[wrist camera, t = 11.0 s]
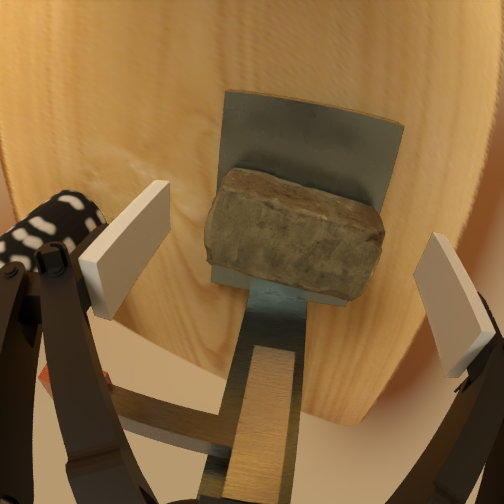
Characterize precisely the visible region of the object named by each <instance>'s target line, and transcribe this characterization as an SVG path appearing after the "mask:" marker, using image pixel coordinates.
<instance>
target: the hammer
mask: <svg viewBox="0 0 504 504" xmlns="http://www.w3.org/2000/svg"><path fill="white" fill-rule="evenodd" d="M294 361H295V352H291V351H285V350H280V349H274V348H268V347H263V346H258V345H255V346H254V351H253V356H252V361H251V365H250V370H249V375H248V380H247V385H246V389H245V394H244V399H243V404H242V408H241V413H240V418H239V419H234V418H229V417H224V416H220V415H215V414H211V413H206V412H202V411H198V410H194V409H190V408H186V407H183V406H179V405H175V404H171V403H168V402H164V401H161V400H157V399H155V398H151V397H148V396H145V395H142V394H139V393H135V392H133V391H129V390H126V389H124V388H121V387H118V386H115V385H113V384H112V382H111V380H110V378H109V375H108V373H107V372H105V371H103V374H104V377H105V381H106V384H107V387H108V390H109V393H110V396H111V399H112V401H113V404H114V407H115V410H116V413H117V415H118V418H119V421H120V423H121V426H122V428H123V429H125V430H128V431H130V432H133V433H136V434H138V435H141V436H145V437H148V438H150V439H154V440H157V441H160V442H163V443H167V444H170V445H173V446H177V447H181V448H185V449H188V450H192V451H196V452H200V453H205V454H208V455H213V456H217V457H222V458H227V459H230V463H229V467H228V472H227V476H226V481H225V485H224V489H223V494H222V498H221V499H225V500H230V501H236V502H241V503H243V504H278V497H279V490H280V484H281V476H282V469H283V462H284V454H285V446H286V438H287V429H288V421H289V412H290V402H291V393H292V383H293V372H294ZM38 378H39V380H40V382H41V383H42V384H43V386H44V387H45V389H46V390H47V392H48V393H49V395H50V396H51V397H52V399H53V395H52V390H51V385H50V379H49V373H48V367H47V364H46V366H45V367H44V369H43V370H42V372H41V373H40V375H39V377H38Z"/></svg>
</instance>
